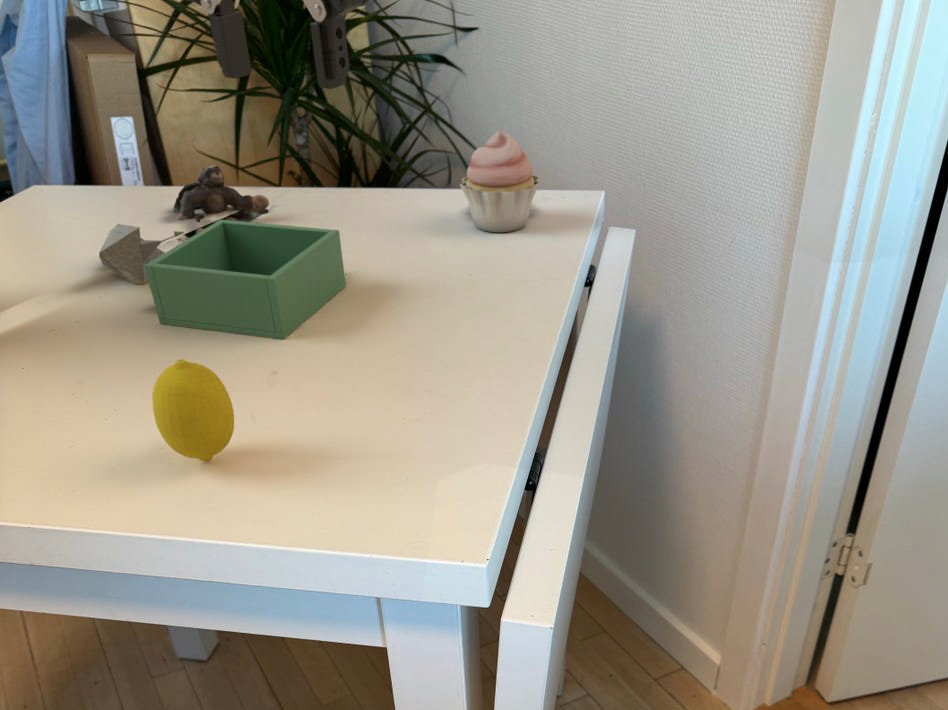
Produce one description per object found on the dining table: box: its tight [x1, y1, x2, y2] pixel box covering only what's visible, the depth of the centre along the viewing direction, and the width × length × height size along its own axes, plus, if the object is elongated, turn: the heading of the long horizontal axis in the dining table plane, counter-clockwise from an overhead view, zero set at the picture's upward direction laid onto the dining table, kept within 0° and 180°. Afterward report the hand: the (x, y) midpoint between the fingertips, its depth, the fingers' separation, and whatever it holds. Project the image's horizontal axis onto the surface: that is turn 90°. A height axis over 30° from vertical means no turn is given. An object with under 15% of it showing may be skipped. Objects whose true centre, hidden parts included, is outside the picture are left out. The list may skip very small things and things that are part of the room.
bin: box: [145, 219, 347, 340], centre depth 89 cm, size 14×14×6 cm
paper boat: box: [98, 223, 185, 286], centre depth 95 cm, size 12×6×9 cm
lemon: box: [152, 358, 235, 463], centre depth 66 cm, size 6×6×8 cm
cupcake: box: [459, 130, 541, 233], centre depth 104 cm, size 9×9×10 cm
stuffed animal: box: [173, 164, 270, 239], centre depth 110 cm, size 12×10×12 cm
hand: (284, 81), depth 63 cm, fingers open, 8 cm apart
